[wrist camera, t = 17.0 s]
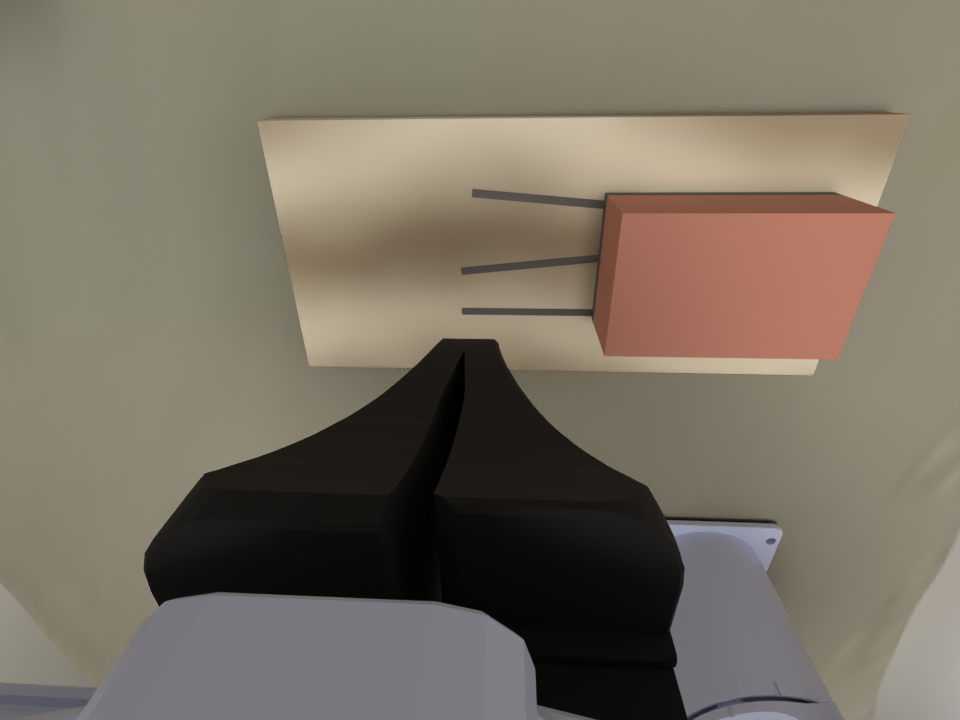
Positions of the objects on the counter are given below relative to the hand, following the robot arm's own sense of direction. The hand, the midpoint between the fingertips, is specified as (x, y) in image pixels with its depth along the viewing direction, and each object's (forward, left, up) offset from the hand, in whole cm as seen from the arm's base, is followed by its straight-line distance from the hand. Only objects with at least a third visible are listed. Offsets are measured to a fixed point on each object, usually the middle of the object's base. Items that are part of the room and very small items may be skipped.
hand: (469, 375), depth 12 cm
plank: (0, -3, -10) cm, 10 cm away
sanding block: (0, -8, -9) cm, 12 cm away
